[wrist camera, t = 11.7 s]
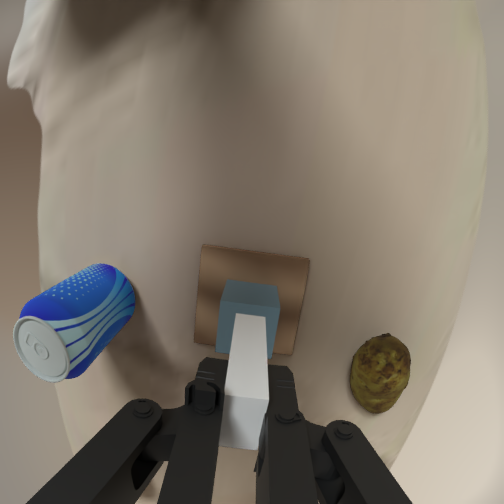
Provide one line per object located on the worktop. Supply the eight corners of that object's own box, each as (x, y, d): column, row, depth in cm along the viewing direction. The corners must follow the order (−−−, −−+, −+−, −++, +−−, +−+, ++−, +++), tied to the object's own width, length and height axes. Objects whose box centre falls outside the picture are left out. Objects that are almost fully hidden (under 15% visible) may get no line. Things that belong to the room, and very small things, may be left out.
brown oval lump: (330, 399, 41) (341, 438, 33) (352, 318, 38) (372, 349, 30) (382, 399, 41) (400, 434, 33) (409, 321, 38) (436, 349, 30)
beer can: (127, 254, 37) (53, 300, 21) (147, 318, 39) (92, 391, 23) (74, 267, 37) (-6, 312, 22) (94, 326, 39) (30, 390, 24)
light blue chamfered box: (227, 279, 36) (220, 300, 30) (276, 285, 36) (280, 308, 30) (222, 324, 37) (215, 351, 31) (269, 330, 37) (271, 359, 31)
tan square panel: (203, 244, 36) (191, 257, 30) (308, 258, 36) (318, 274, 30) (195, 338, 39) (184, 365, 33) (290, 350, 39) (295, 379, 33)
